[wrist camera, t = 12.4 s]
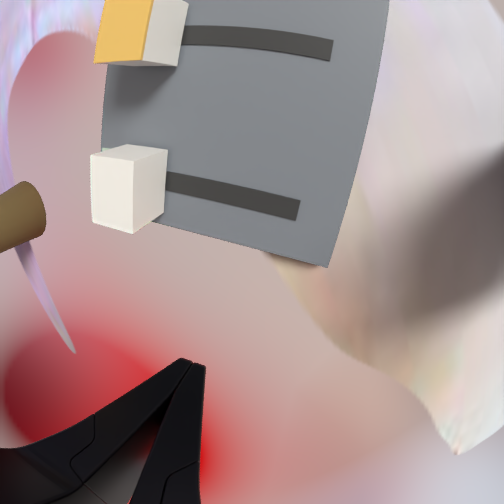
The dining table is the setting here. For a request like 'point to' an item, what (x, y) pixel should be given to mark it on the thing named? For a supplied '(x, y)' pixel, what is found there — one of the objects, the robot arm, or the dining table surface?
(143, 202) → the block
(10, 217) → the cork
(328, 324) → the dining table surface
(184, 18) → the block
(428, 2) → the dining table surface
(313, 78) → the panel
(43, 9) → the dining table surface
